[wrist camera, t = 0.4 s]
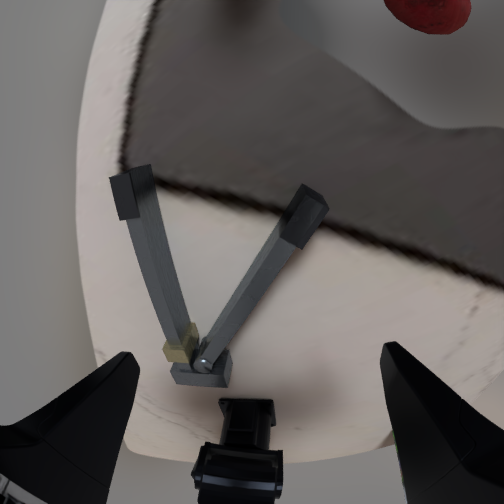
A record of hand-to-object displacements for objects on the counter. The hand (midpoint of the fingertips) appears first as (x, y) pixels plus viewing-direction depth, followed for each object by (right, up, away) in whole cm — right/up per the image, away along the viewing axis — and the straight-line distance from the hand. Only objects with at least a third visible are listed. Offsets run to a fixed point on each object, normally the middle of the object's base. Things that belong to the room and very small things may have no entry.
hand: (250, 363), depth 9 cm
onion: (+11, +21, +2) cm, 23 cm away
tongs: (-6, +1, +14) cm, 15 cm away
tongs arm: (0, +1, +13) cm, 13 cm away
